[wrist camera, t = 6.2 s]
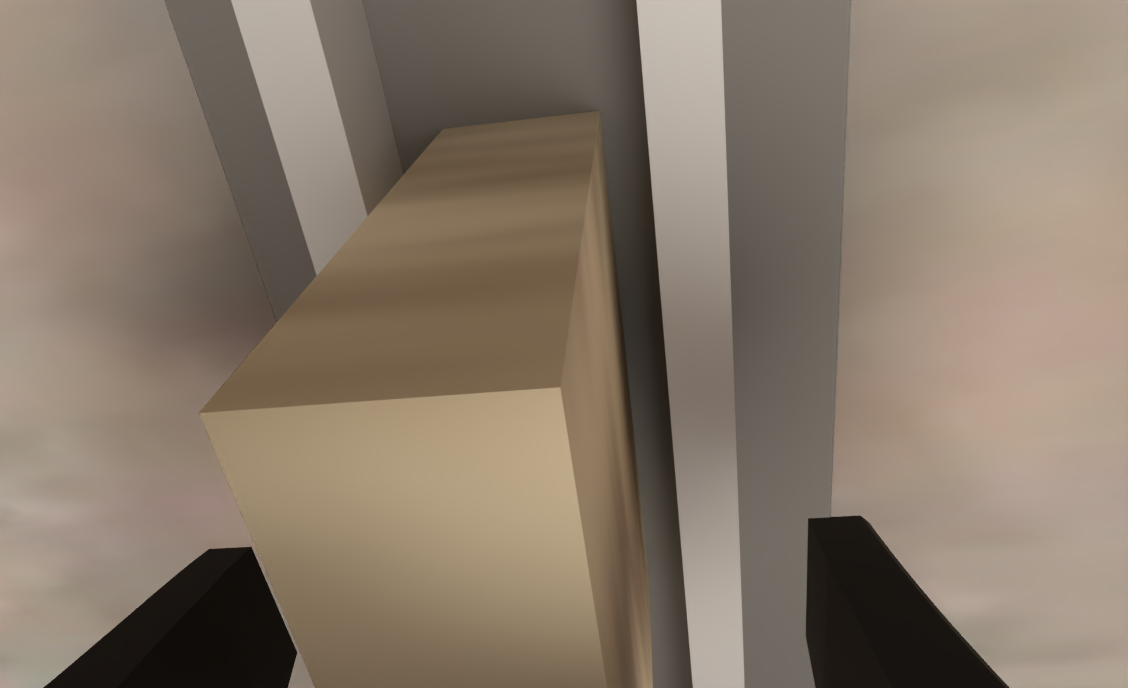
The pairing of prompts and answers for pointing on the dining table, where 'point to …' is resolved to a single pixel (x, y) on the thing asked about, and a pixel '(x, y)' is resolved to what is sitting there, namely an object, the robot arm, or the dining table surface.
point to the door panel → (455, 431)
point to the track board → (640, 231)
